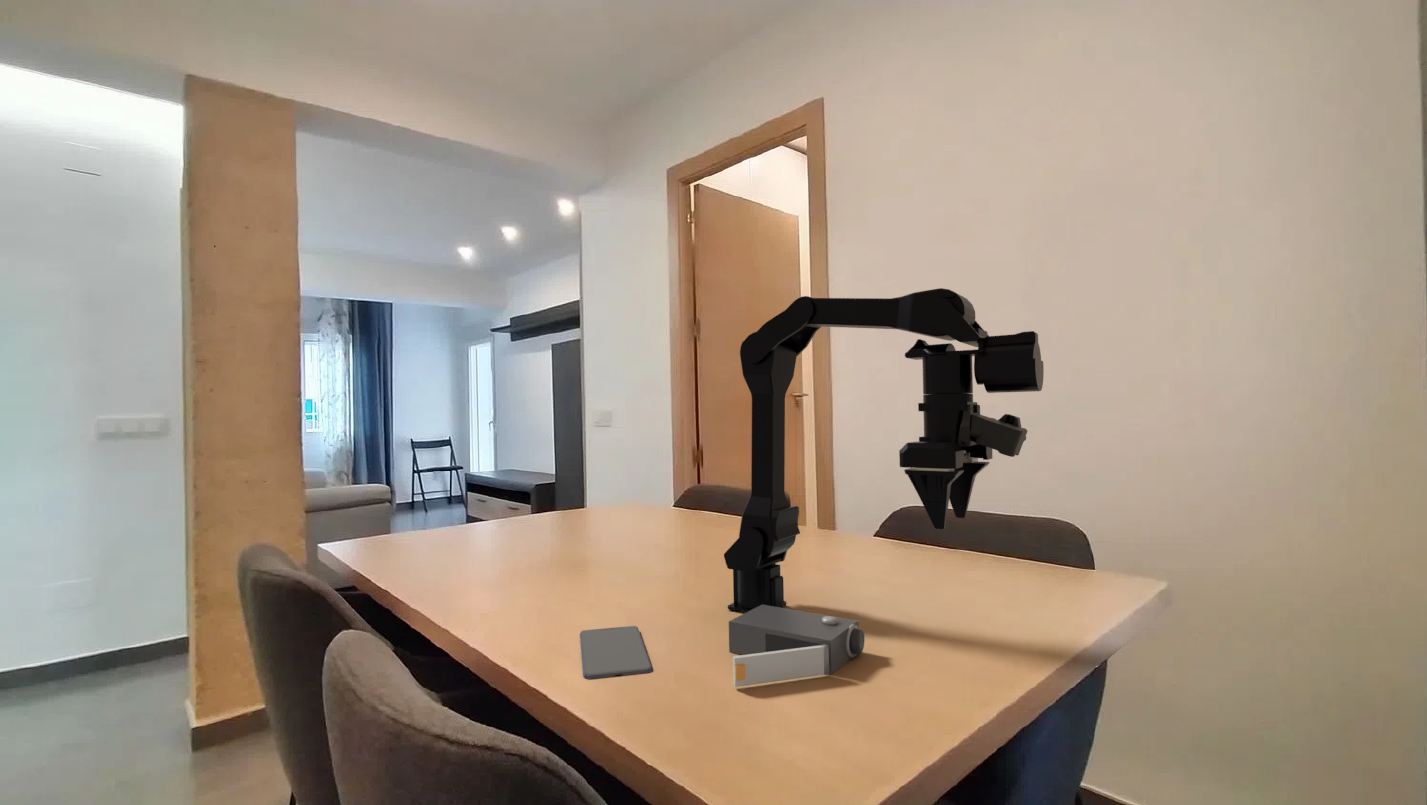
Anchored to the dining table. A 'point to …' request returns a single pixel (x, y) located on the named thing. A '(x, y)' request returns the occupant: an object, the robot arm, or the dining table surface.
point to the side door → (780, 665)
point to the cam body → (795, 633)
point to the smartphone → (613, 652)
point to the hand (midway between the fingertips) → (950, 523)
